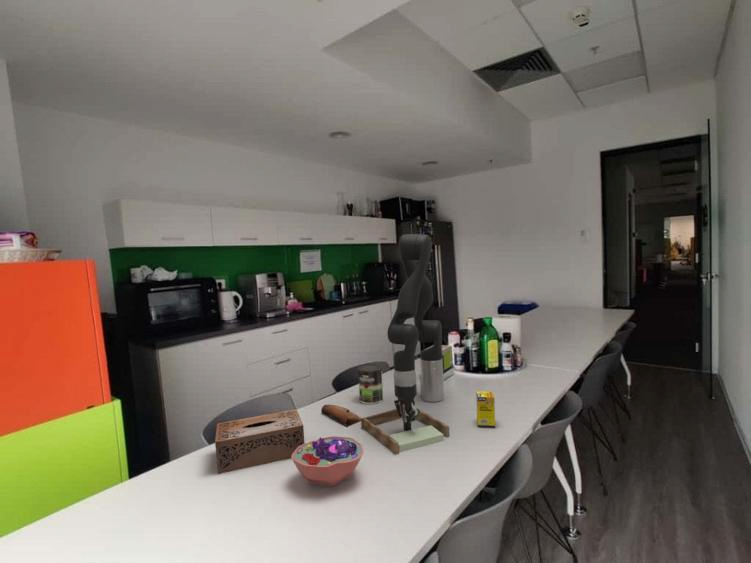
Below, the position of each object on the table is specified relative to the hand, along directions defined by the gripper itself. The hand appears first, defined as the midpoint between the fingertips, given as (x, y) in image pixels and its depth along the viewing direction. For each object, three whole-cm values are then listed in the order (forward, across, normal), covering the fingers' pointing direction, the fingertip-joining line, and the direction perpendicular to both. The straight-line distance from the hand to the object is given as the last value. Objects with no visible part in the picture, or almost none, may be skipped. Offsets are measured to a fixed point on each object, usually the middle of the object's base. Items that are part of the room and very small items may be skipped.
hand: (407, 431), depth 135 cm
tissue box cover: (+2, -16, -46) cm, 49 cm away
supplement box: (+1, +9, +27) cm, 29 cm away
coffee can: (+1, -36, +5) cm, 36 cm away
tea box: (+1, -43, +46) cm, 63 cm away
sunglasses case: (+2, -27, -13) cm, 30 cm away
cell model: (+1, +10, -33) cm, 34 cm away
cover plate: (+2, +5, 0) cm, 6 cm away
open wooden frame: (+1, -2, 0) cm, 2 cm away
